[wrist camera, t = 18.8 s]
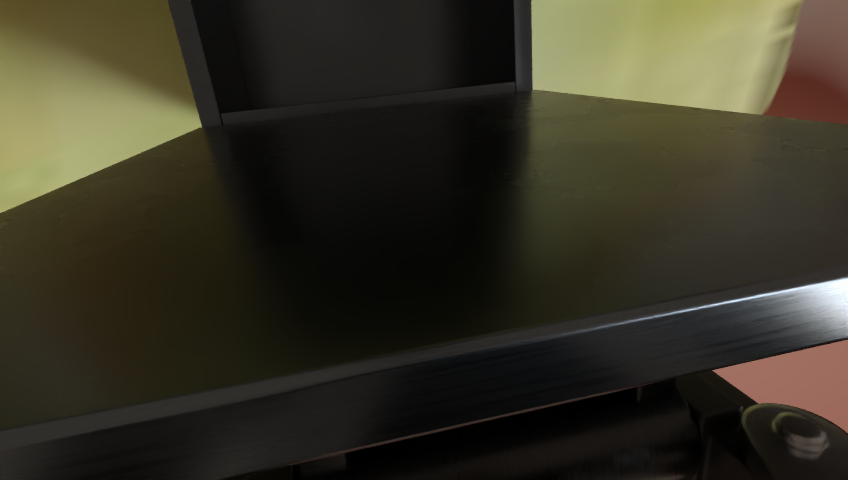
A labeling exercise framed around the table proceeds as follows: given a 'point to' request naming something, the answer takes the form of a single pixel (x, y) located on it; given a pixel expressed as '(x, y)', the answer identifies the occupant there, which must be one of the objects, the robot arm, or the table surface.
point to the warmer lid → (416, 291)
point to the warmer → (348, 54)
